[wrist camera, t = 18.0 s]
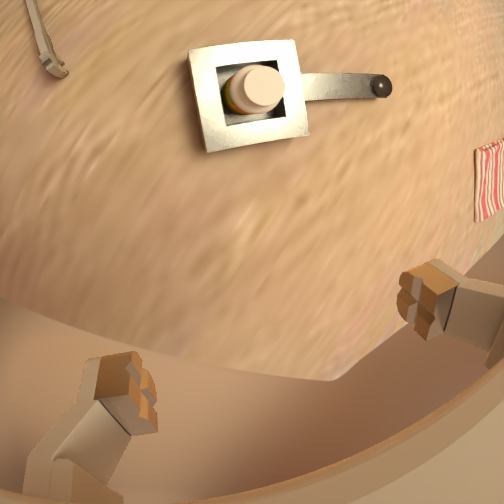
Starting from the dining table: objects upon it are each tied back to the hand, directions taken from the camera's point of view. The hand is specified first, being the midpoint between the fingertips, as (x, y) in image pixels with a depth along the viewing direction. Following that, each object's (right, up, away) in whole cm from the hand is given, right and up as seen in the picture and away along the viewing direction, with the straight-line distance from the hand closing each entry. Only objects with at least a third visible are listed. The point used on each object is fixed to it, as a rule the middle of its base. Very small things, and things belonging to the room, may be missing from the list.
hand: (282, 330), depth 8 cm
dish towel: (+57, +21, +42) cm, 73 cm away
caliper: (-28, +32, +14) cm, 45 cm away
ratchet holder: (+5, +23, +26) cm, 35 cm away
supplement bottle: (-2, +21, +25) cm, 33 cm away
